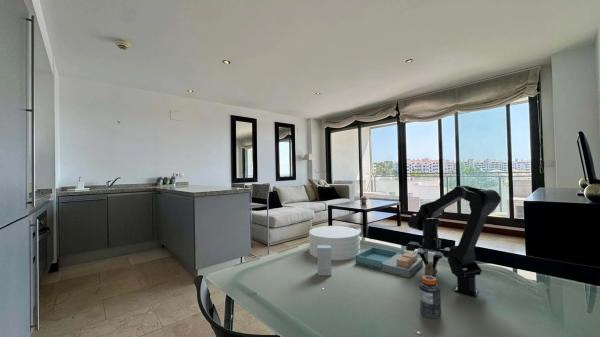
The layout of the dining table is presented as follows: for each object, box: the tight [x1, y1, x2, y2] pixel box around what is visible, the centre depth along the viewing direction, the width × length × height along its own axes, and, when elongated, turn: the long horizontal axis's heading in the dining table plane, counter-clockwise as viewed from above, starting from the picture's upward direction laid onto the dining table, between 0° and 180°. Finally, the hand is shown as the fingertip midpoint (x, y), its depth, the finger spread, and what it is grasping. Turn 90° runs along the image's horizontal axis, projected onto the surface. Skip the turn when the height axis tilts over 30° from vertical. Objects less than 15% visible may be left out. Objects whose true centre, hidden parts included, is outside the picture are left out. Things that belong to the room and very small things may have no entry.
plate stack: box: [308, 225, 361, 261], centre depth 142 cm, size 28×28×12 cm
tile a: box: [397, 257, 412, 267], centre depth 113 cm, size 5×5×2 cm
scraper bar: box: [424, 256, 438, 276], centre depth 109 cm, size 16×2×4 cm, turn 144°
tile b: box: [402, 252, 418, 263], centre depth 118 cm, size 5×5×2 cm
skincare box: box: [316, 245, 333, 276], centre depth 112 cm, size 6×4×12 cm
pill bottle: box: [418, 275, 442, 319], centre depth 80 cm, size 6×6×11 cm
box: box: [355, 246, 398, 271], centre depth 125 cm, size 18×13×4 cm
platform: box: [381, 253, 424, 278], centre depth 117 cm, size 18×12×3 cm, turn 138°
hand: (431, 269), depth 109 cm, fingers closed on scraper bar, 2 cm apart
